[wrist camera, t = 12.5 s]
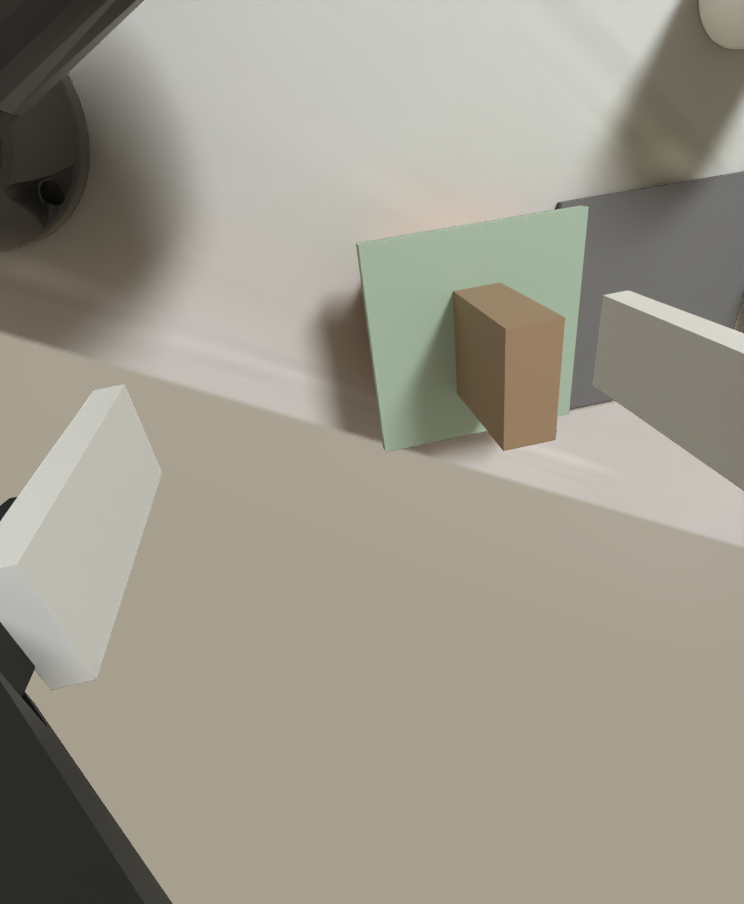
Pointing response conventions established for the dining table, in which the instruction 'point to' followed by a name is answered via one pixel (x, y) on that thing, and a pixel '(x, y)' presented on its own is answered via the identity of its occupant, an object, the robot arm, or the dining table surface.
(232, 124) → the dining table surface
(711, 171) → the dining table surface
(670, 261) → the mat
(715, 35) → the candle holder
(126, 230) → the dining table surface
